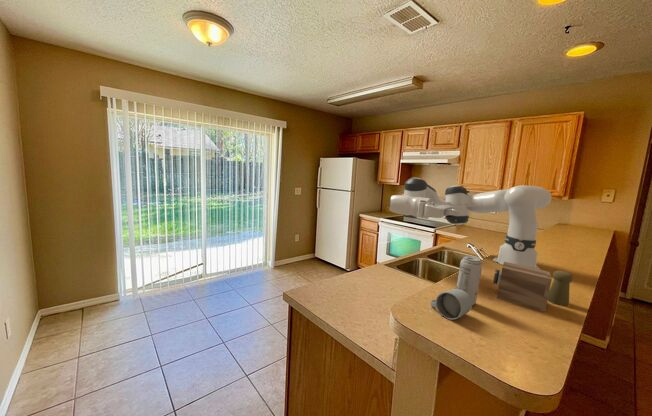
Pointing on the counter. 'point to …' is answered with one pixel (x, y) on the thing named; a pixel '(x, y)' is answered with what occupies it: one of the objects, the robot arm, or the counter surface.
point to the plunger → (497, 277)
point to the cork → (560, 288)
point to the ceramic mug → (452, 303)
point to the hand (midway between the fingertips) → (460, 213)
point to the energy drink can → (469, 276)
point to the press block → (524, 286)
